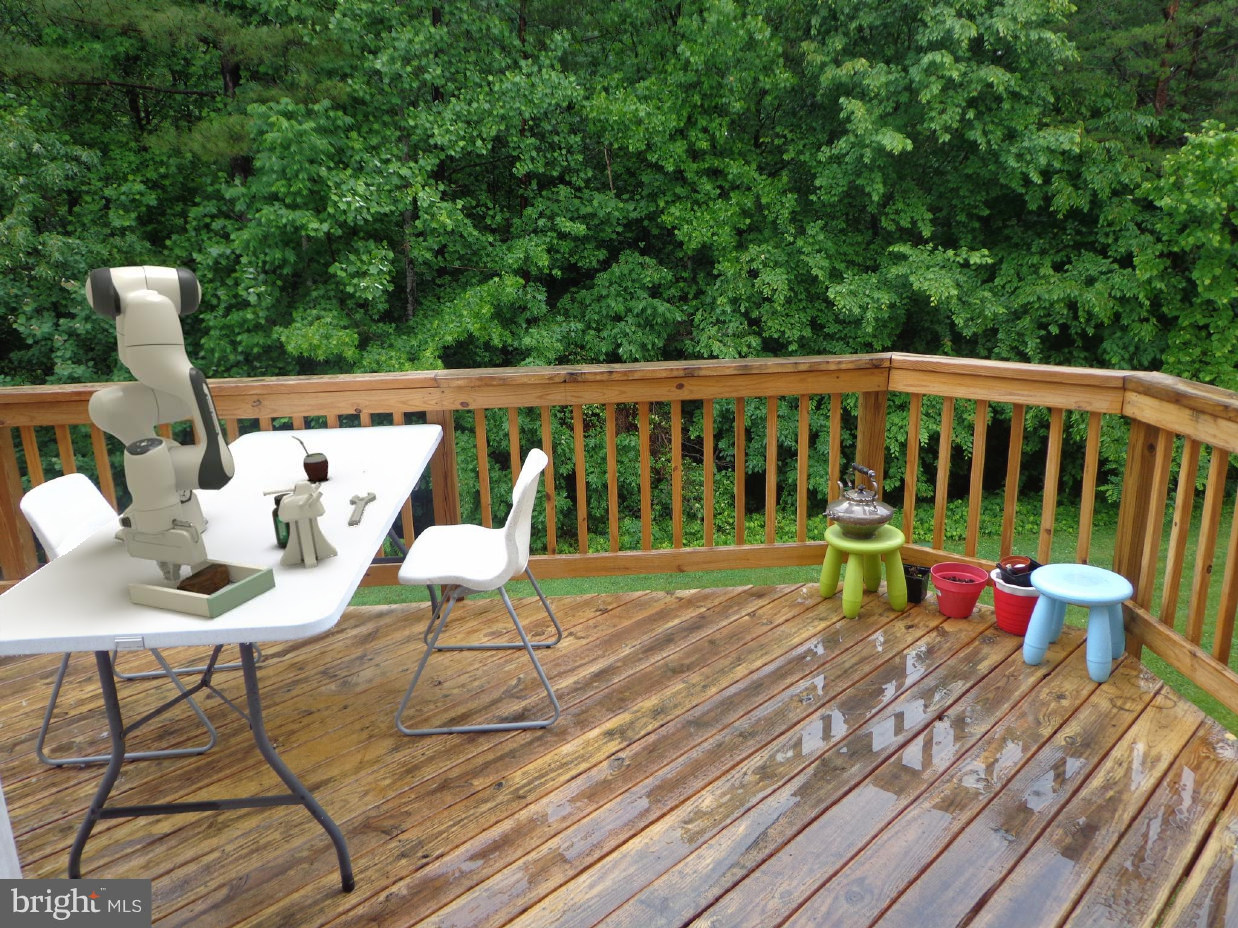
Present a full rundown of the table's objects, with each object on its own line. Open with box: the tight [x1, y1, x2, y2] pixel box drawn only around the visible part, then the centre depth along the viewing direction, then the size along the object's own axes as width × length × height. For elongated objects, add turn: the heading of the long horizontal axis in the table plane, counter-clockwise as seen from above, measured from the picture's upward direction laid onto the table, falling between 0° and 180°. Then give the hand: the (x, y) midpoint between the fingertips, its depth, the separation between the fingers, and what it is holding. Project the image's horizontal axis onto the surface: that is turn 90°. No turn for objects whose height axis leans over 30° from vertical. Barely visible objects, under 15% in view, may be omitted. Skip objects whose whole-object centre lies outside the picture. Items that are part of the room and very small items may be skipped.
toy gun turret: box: [262, 480, 339, 569], centre depth 194 cm, size 12×13×18 cm
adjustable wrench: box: [347, 492, 377, 527], centre depth 228 cm, size 25×6×2 cm, turn 4°
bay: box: [128, 558, 276, 619], centre depth 179 cm, size 23×16×4 cm
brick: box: [175, 564, 231, 596], centre depth 180 cm, size 11×4×5 cm, turn 163°
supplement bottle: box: [271, 492, 292, 549], centre depth 205 cm, size 7×7×12 cm
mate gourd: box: [291, 435, 329, 485], centre depth 256 cm, size 8×8×15 cm
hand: (172, 579), depth 182 cm, fingers closed
